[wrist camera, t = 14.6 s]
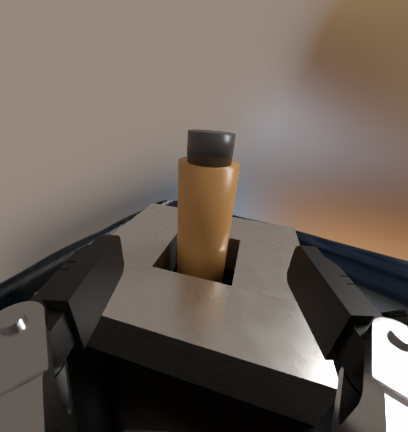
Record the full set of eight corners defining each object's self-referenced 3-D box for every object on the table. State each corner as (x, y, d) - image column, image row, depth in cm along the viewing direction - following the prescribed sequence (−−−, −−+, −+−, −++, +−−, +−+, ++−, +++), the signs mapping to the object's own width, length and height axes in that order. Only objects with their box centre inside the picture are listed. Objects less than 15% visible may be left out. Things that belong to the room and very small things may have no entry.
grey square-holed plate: (286, 255, 25) (294, 227, 23) (314, 426, 11) (341, 390, 9) (153, 229, 29) (152, 203, 27) (51, 333, 15) (34, 294, 13)
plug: (224, 275, 21) (246, 133, 15) (216, 309, 18) (241, 138, 11) (185, 265, 22) (190, 128, 16) (169, 296, 18) (168, 130, 12)
